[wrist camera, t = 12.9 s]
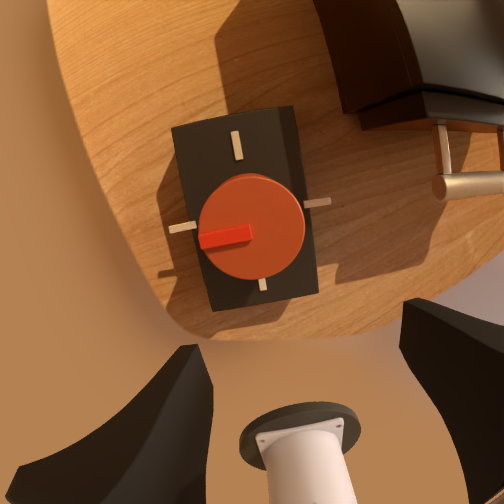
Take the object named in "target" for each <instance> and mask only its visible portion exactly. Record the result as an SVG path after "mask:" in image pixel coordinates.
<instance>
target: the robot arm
mask: <svg viewBox="0 0 504 504" xmlns="http://www.w3.org/2000/svg"><path fill="white" fill-rule="evenodd" d="M399 348H400V350H401V352H402V354H403V356H404V359H405V360H406V362H407V364H408V366H409V368H410V369H411V371H412V373H413V374H414V375H415V377H416V378H417V380H418V381H419V383H420V384H421V386H422V387H423V388H424V390H425V391H426V393H427V394H428V396H429V397H430V399H431V400H432V402H433V403H434V405H435V406H436V408H437V409H438V411H439V413H440V414H441V416H442V418H443V420H444V422H445V424H446V426H447V429H448V431H449V433H450V435H451V437H452V440H453V443H454V445H455V448H456V451H457V453H458V456H459V459H460V462H461V466H462V469H463V473H464V477H465V482H466V486H467V491H468V498H469V504H485V503H486V502H487V501H489V500H490V499H491V498H493V497H494V496H495V495H497V494H498V493H499V492H501V490H503V489H504V326H502V325H498V324H494V323H491V322H488V321H484V320H481V319H478V318H475V317H472V316H469V315H466V314H464V313H461V312H458V311H455V310H453V309H450V308H447V307H445V306H442V305H439V304H437V303H434V302H431V301H428V300H425V299H421V298H414V299H411V300H407V301H404V302H403V315H402V325H401V334H400V343H399ZM212 418H213V384H212V382H211V379H210V376H209V374H208V371H207V368H206V366H205V363H204V360H203V358H202V355H201V352H200V349H199V346H198V344H192V345H183V346H180V347H179V348H178V349H177V350H176V351H175V353H174V354H173V355H172V356H171V357H170V358H169V360H168V361H167V362H166V363H165V364H164V366H163V367H162V368H161V369H160V370H159V371H158V372H157V374H156V375H155V376H154V377H153V378H152V379H151V380H150V382H149V383H148V384H147V385H146V386H145V387H144V388H143V389H142V390H141V391H140V392H139V393H138V394H137V395H136V396H135V397H134V398H133V399H132V400H131V401H130V402H129V403H128V404H127V405H126V406H125V407H124V408H123V409H122V410H121V411H120V412H118V413H117V414H116V415H115V416H113V417H112V418H111V419H110V420H108V421H107V422H106V423H105V424H103V425H102V426H101V427H99V428H98V429H96V430H95V431H93V432H92V433H90V434H89V435H87V436H86V437H84V438H83V439H81V440H80V441H78V442H76V443H74V444H72V445H71V446H69V447H67V448H65V449H63V450H61V451H59V452H57V453H55V454H53V455H50V456H48V457H46V458H43V459H40V460H37V461H35V462H32V463H29V464H26V465H22V466H19V468H18V469H17V472H16V474H15V476H14V478H13V480H12V482H11V484H10V487H9V489H8V491H7V493H6V495H5V497H6V499H7V501H9V502H10V503H11V504H206V463H207V455H208V448H209V441H210V433H211V426H212ZM343 426H344V421H343V418H335V419H331V420H327V421H323V422H318V423H314V424H309V425H304V426H299V427H294V428H288V429H283V430H276V431H270V432H262V433H258V434H256V435H255V438H256V442H257V445H258V447H259V450H260V453H261V456H262V459H263V462H264V464H265V467H266V470H267V478H268V490H269V502H270V504H357V501H356V497H355V494H354V490H353V487H352V484H351V480H350V477H349V474H348V470H347V467H346V464H345V460H344V457H343V454H342V450H341V446H342V437H343ZM489 504H504V493H503V494H502V495H500V496H499V497H497V498H496V499H495V500H494V501H492V502H491V503H489Z"/></svg>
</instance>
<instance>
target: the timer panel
mask: <svg viewBox="0 0 504 504" xmlns="http://www.w3.org/2000/svg"><path fill="white" fill-rule="evenodd" d="M171 131H172V137H173V142H174V148H175V153H176V158H177V163H178V168H179V173H180V178H181V183H182V188H183V193H184V197H185V202H186V207H187V211H188V216H189V220H190V222H186V223H181V224H177V225H172V226H169V231H170V233H175V232H180V231H185V230H190V229H192V233H193V237H194V242H195V246H196V250H197V254H198V258H199V262H200V266H201V270H202V274H203V278H204V282H205V286H206V289H207V293H208V297H209V301H210V304H211V308H212V311H213V312H216V311H222V310H229V309H235V308H241V307H247V306H253V305H259V304H264V303H270V302H275V301H281V300H286V299H291V298H297V297H302V296H307V295H312V294H317V293H319V287H318V276H317V266H316V256H315V247H314V238H313V230H312V222H311V214H310V208H311V207H317V206H324V205H330V204H331V198H330V197H326V198H320V199H313V200H308V193H307V186H306V179H305V173H304V166H303V160H302V154H301V148H300V143H299V137H298V132H297V126H296V121H295V116H294V111H293V106H284V107H275V108H268V109H261V110H254V111H248V112H242V113H236V114H231V115H226V116H220V117H215V118H211V119H206V120H202V121H197V122H193V123H189V124H185V125H181V126H177V127H173V128H171ZM245 173H255V174H260V175H264V176H266V177H268V178H270V179H272V180H274V181H276V182H278V183H280V184H281V185H283V186H284V187H285V188H287V189H288V190H289V191H290V192H291V193H292V194H293V195H294V197H295V198H296V199H297V201H298V203H299V205H300V207H301V209H302V212H303V215H304V220H305V235H304V240H303V243H302V246H301V248H300V250H299V253H298V254H297V256H296V257H295V259H294V260H293V261H292V262H291V263H290V264H289V265H288V266H287V267H286V268H285V269H283V270H282V271H280V272H279V273H277V274H275V275H272V276H270V277H267V278H263V279H256V280H246V279H240V278H236V277H233V276H230V275H228V274H226V273H224V272H223V271H221V270H220V269H218V268H217V267H216V266H215V265H214V264H213V263H212V262H211V261H210V260H209V259H208V257H207V256H206V254H205V252H204V250H202V249H201V247H200V243H199V238H198V235H199V229H198V226H199V218H200V214H201V211H202V208H203V206H204V204H205V203H206V201H207V199H208V198H209V197H210V195H211V194H212V193H213V192H214V191H215V190H216V189H217V188H218V187H219V186H220V185H221V184H222V183H224V182H225V181H226V180H228V179H229V178H231V177H234V176H236V175H239V174H245Z"/></svg>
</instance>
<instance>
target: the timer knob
mask: <svg viewBox="0 0 504 504" xmlns="http://www.w3.org/2000/svg"><path fill="white" fill-rule="evenodd" d="M198 229H199V235H198V238H199V243H200V247H201V249H202V250H204V252H205V254H206V256H207V257H208V259H209V260H210V261H211V262H212V263H213V264H214V265H215V266H216V267H217V268H218V269H220V270H221V271H223V272H224V273H226V274H228V275H230V276H233V277H236V278H240V279H246V280H256V279H263V278H267V277H270V276H272V275H275V274H277V273H279V272H280V271H282V270H283V269H285V268H286V267H287V266H288V265H289V264H290V263H291V262H292V261H293V260H294V259H295V257H296V256H297V254H298V253H299V250H300V248H301V246H302V243H303V240H304V235H305V220H304V215H303V212H302V209H301V207H300V205H299V203H298V201H297V199H296V198H295V197H294V195H293V194H292V193H291V192H290V191H289V190H288V189H287V188H285V187H284V186H283V185H281V184H280V183H278V182H276V181H274V180H272V179H270V178H268V177H266V176H264V175H260V174H255V173H245V174H239V175H236V176H234V177H231V178H229V179H228V180H226V181H225V182H224V183H222V184H221V185H220V186H219V187H218V188H217V189H216V190H215V191H214V192H213V193H212V194H211V195H210V197H209V198H208V199H207V201H206V203H205V204H204V206H203V208H202V211H201V214H200V218H199V226H198Z"/></svg>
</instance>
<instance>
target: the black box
mask: <svg viewBox="0 0 504 504" xmlns="http://www.w3.org/2000/svg"><path fill="white" fill-rule="evenodd" d="M313 2H314V4H315V7H316V10H317V13H318V16H319V19H320V23H321V26H322V29H323V32H324V36H325V39H326V43H327V46H328V50H329V53H330V57H331V61H332V65H333V69H334V73H335V77H336V81H337V85H338V90H339V94H340V99H341V104H342V109H343V114H358V112H360V111H363V110H365V109H368V108H371V107H373V106H376V105H379V104H382V103H384V102H387V101H390V100H393V99H396V98H399V97H402V96H404V95H407V94H411V93H414V92H417V91H420V90H424V89H434V90H442V91H449V92H455V93H461V94H466V95H471V96H476V97H481V98H485V99H484V100H489V101H493V102H497V103H501V104H504V0H313Z"/></svg>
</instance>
